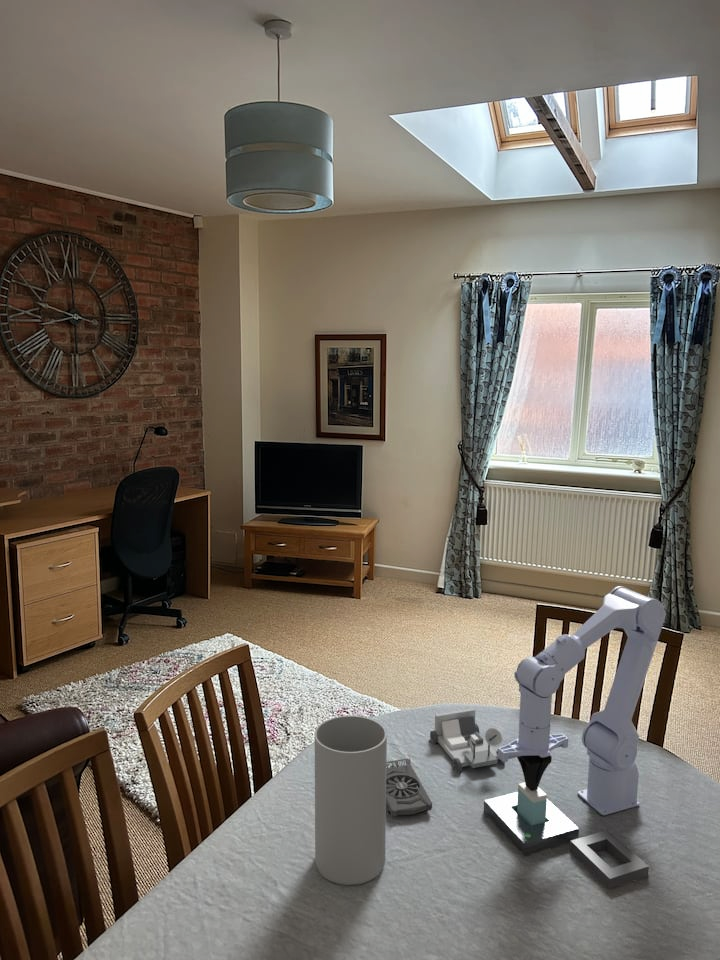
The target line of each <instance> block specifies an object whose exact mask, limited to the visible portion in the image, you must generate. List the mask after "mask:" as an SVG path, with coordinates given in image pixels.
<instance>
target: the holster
mask: <svg viewBox="0 0 720 960" xmlns="http://www.w3.org/2000/svg"><path fill="white" fill-rule="evenodd" d="M603 850H607V851H608V852H609V853H610V855H612V856H613V857H614V858H615V859H616V860H618V861H619V862H620V863H621V864H620V865H616V866H614V867H610V865H609V864H608V863H607V862H605V861H604V860H603V859H602V858H601V857H600V856H599V855H598V854H597V853H596V852H600V851H603ZM569 851H570V852H571V853H572V854H573V855H574V856H575V857H576V858H577V859H578V860H579V861H580V862H581V863H582V864H583V865H584V866H585V867H586V868H587V869H588V870H589V871H590V872H591V873H592V874H593V875H594V876H595V877H596V878H597V879H598V880H599V881H600V882H601V883H602V884H603V885H604V886H605V887H606V888H607V889H608V890H611V889H614V888H616V887H620V886H623V885H626V884H629V883H632V882H636V881H638V880H641V879H645V878H647V877H649V872H650V866H649V865H648V864H647V863H646V862H645V861H644V860H643V859H641V858H640V857H639V856H638V855H637V854H636V853H635V852H634V851H632V849H630V848H629V846H627V845H626V844H625V843H624V842H622V841H621V840H620V839H619V838H618V837H617V836H616V835H614V834H613V832H611V831H610V830H609V829H605V830H602V831H599V832H597V833H593V834H589V835H584V836H581V837H579V838H578V839H575V840H571V842H570V843H569Z"/></svg>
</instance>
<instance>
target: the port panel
mask: <svg viewBox="0 0 720 960" xmlns="http://www.w3.org/2000/svg"><path fill="white" fill-rule="evenodd" d="M517 802H518V791H516V792H515V791H514V792H512V793H507V794H504V795H499V796H495V797H490V798H486V799H483V813H484V814H485V815H486V816H487V817H488V818H489V819H490V820H491V822H492V823H493V824H494V825H495V826H496V827H497V828H498V829H499V830H500V831H501V832H502V834H504V836H506V837H505V838H507V839H508V841H510V842H511V844H513V846H514V847H515V848H516V849H517V850H518V851H519V852H520V853H521V855H522V856H524V857H527V856H530V855H533V854H536V853H540V852H543V851H547V850H551V849H554V848H557V847H560V846H564V845H568V844H570V842H571V840H575V839H578V838H580V835H579V834H580V828H579V826H577V824H575V823H574V822H573V821H572V820H571V819H570V818H569V817H567V816H566V814H564V813H563V812H562V811H561V810H560V809H559V808H558V807H557V806H555V805H554V803H552V801H550V799H548V798H547V805H546V822H545V823H542V824H538V825H534V826H531V827H530V826H529V825H528V824H527V823H526V822H525V821H524V820H523V819H522V818H521V817H520V816H519V815H518V814H517Z"/></svg>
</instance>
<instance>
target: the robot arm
mask: <svg viewBox="0 0 720 960" xmlns="http://www.w3.org/2000/svg"><path fill="white" fill-rule="evenodd" d="M666 616H667V612H666V609H665V607H664V606H663V604H662V602H661V601H660V600H659V599H656V598H653V597H649V596H647V595H644V594H642V593H639V592H637V591H634V590H631V589H629V588H627V587H626V586H623V585H619V586H616V587H614V588H613V589H612V590H610V592H609V593H607V594H606V595H604V596H603V600H602V605H601V607H600V608H599V609H597V611H596V612H595V613H594V614H592V616H590V617H589V618H588V619H587V620H586V621H585V622H584V623H583V624H582V625H581V626H580V627H578V629H577V630H576V631H575V632H574V633H573V634H566V633H565V634H562V635H558V636H557V638H555V640H554V641H553V642H552V643H550V644H549V645H548V646H547V647H545V648H544V649H543V650H542V651H540V652H539V653H538V654H537V655H535V656H531V657H530V656H528V657H526V658H524V659H522V660H521V661H520V662H519V663H518V665H517V668H516V671H514V673H513V674H514V678H515V681H516V682H517V683H518V692H520V694H519V695H520V696H519V697H520V699H519V700H520V701H519V719H518V738H515V740H512V741H511V742H509V743H507V744H506V745H504V746H501V747H498V748H497V751H498V758H499V759H500V760H501V761H502V762H505V763H508V762H509V760H510V759H515V758H517V759H518V762H519V765H520V767H521V771H522V773H523V774H522V775H523V778H524V782H525V784H526V786H527V787H528V788H529V789H530V790H531V791H533V790H537V789H538V787H539V785H540V783H541V780H542V778H543V775H544V773H545V771H546V769H547V768H548V767H549V766H550V764H551V763H552V759H553V757H552V755H551V751H553V750H555V749H557V748H563V749H567V748H568V747H569V738H568V737H567V736H566V735H565V734H564V733H556V734H555V733H554V734H551V718H552V717H551V716H552V703H553V702H552V699H553V694H555V693H556V692H557V691H558V689H559V687H560V684H561V682H562V681H563V680H564V678H565V676H566V674H568V672H570V670H572V669H573V668H575V666H577V665H579V663H581V661H583V660H584V659H585V655H586V649H587V648H589V647H590V646H592V645H593V644H594V643H596V642H598V641H599V640H600V639H602V638H603V637H604V636H606V635H608V634H609V633H610V632H612V631H613V630H614V629H623V631H624V632H625V634H626V636H627V639H626V641H625V642H626V643H625V645H624V649H623V650H622V654H621V658H620V660H619V663H618V666H617V670H616V672H615V675H614V679H613V680H612V681H613V682H612V684H611V687H610V691H609V694H608V696H607V700H606V703H605V706H604V709H603V710H600V711H596V712H594V713H592V715H591V717H590V720H589V722H588V723H587V725H586V726H585V728H584V729H583V731H582V734H581V741H582V745H583V746H584V747H585V748H586V749H587V750H586V755H587V756H588V772H587V774H588V775H587V788H586V789H581V790H578V791H577V796H579V797H580V798H582V799H583V801H585V802H586V803H587V804H588V805H590V807H592V808H593V809H594V810H595V811H596V812H598V814H600V815H602V816H606V815H609V814H610V815H611V814H614V813H617V812H621V811H624V810H629V809H632V808H635V807H639V806H640V802H639V801H638V792H639V791H638V790H639V789H638V787H639V777H640V776H639V774H640V773H639V770H638V766H637V764H636V762H635V761H636V759H637V757H638V756H637V755H638V743H639V738H640V735H639V733H638V730H637V729H636V727H635V725H634V723H633V721H632V719H633V717H634V713H635V710H636V707H637V705H638V701H639V698H640V695H641V691H642V688H643V686H644V684H645V679H646V677H647V674H648V671H649V669H650V665H651V661H652V658H653V656H654V652H655V650H656V647H657V644H658V641H659V638H660V635H661V631H662V628H663V625H664V622H665V620H666Z"/></svg>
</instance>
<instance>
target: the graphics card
mask: <svg viewBox="0 0 720 960" xmlns="http://www.w3.org/2000/svg"><path fill="white" fill-rule="evenodd" d="M411 761H412V760H411V757H410V756H408V758H403V759H396V760H390V761H386V811H389V814H390V815H391V816H392V817H397V816H398V815H415V814H417V813H420V812H423V811H425V810H426V811H431V810H432V809H433V802H432V801H431V798H430V796H429V795H428V793H427V791H426V789H425V788H424V786H423V783H422V782H421V781H420V778H419V776H418V775H417V773H416V772H415V769H414V768H413V766H412V764H411V763H412V762H411Z"/></svg>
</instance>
